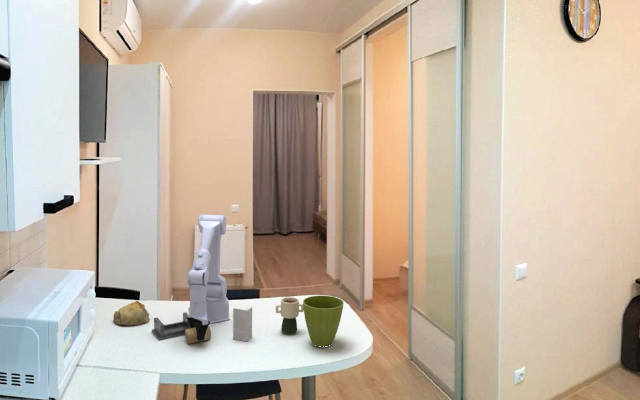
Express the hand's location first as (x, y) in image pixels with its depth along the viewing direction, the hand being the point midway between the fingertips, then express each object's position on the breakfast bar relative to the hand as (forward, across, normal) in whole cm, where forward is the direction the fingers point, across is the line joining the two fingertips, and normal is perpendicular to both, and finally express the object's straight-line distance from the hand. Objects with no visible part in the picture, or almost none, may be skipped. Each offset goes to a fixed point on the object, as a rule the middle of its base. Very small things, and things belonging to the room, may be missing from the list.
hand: (198, 337), depth 176 cm
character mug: (+2, +10, +33) cm, 35 cm away
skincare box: (+2, +6, +15) cm, 16 cm away
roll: (+1, 0, 0) cm, 1 cm away
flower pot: (+2, +25, +38) cm, 46 cm away
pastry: (+2, -32, -16) cm, 35 cm away
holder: (+1, -12, -5) cm, 13 cm away
